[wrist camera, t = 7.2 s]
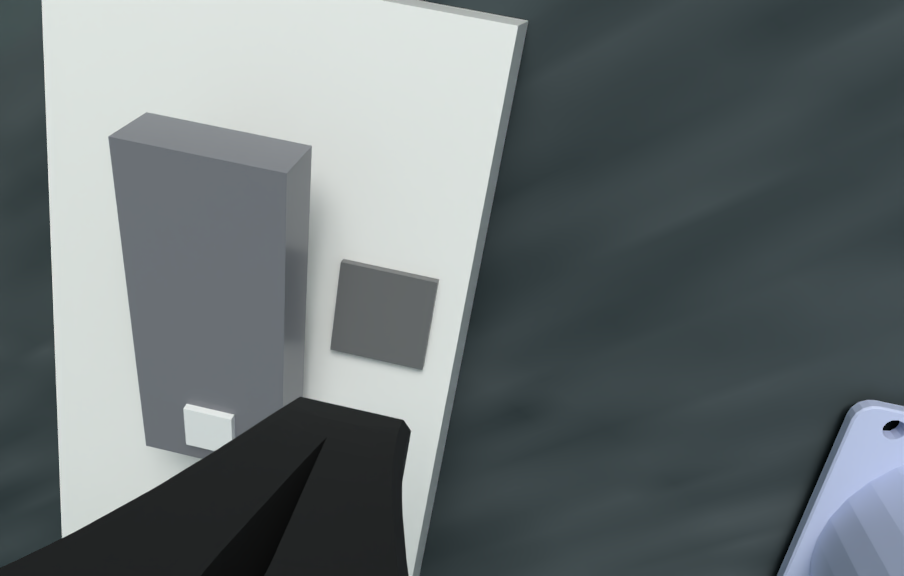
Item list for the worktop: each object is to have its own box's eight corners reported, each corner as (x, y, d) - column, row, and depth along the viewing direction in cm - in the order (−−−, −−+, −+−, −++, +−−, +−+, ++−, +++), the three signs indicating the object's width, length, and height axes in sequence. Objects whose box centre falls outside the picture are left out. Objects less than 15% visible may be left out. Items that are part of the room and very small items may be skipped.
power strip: (594, -312, 14) (602, -426, 10) (362, 868, 28) (329, 1005, 24) (142, -381, 15) (-4, -512, 11) (132, 804, 28) (64, 929, 25)
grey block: (311, 145, 13) (283, 176, 12) (301, 438, 17) (278, 483, 16) (146, 112, 13) (102, 139, 12) (173, 408, 17) (142, 450, 16)
